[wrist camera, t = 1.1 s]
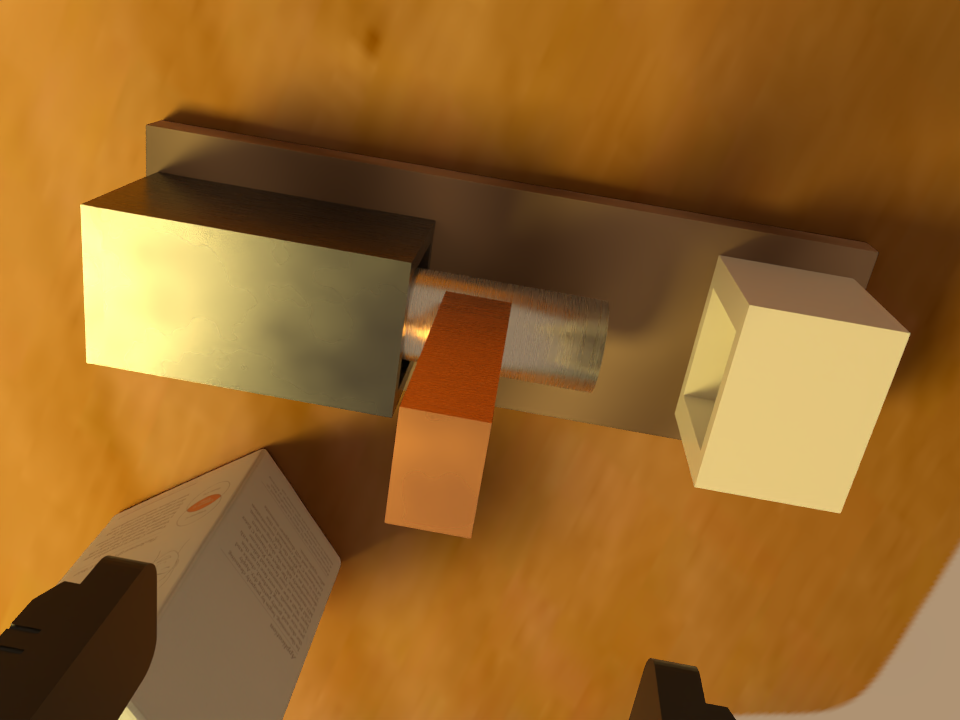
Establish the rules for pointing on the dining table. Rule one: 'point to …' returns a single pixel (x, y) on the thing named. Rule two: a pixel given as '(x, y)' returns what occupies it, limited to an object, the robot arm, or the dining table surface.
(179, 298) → the dark hollow rectangular block
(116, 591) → the robot arm
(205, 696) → the small box
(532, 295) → the sliding bolt
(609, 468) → the dining table surface
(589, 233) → the walnut board
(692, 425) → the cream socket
